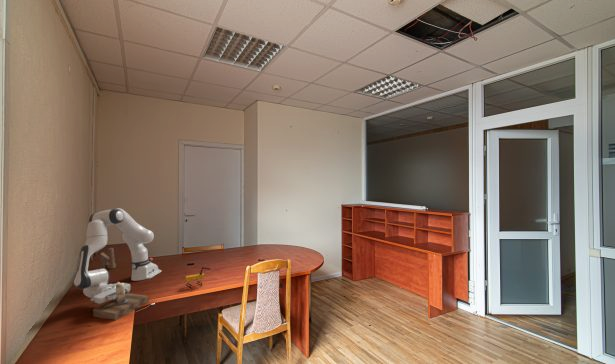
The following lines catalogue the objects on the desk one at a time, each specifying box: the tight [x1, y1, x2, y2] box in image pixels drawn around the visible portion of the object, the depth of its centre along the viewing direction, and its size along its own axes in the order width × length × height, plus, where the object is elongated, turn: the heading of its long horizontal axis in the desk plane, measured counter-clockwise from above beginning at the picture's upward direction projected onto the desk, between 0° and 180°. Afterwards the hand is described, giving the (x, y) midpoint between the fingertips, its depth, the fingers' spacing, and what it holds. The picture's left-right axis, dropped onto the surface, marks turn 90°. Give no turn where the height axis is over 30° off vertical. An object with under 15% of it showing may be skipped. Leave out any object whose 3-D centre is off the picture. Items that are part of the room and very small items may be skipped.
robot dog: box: [183, 266, 211, 289], centre depth 200 cm, size 6×18×13 cm, turn 109°
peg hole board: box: [92, 292, 150, 321], centre depth 171 cm, size 22×18×4 cm
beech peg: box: [114, 282, 129, 306], centre depth 171 cm, size 8×8×15 cm
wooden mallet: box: [100, 247, 117, 270], centre depth 246 cm, size 4×11×18 cm, turn 90°
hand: (122, 294), depth 170 cm, fingers open, 7 cm apart
